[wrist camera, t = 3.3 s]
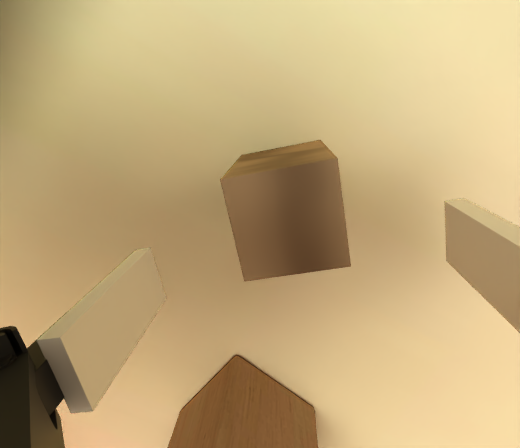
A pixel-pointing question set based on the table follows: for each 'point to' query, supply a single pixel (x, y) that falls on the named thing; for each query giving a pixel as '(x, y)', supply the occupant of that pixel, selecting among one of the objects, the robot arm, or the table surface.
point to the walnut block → (287, 211)
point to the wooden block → (245, 413)
